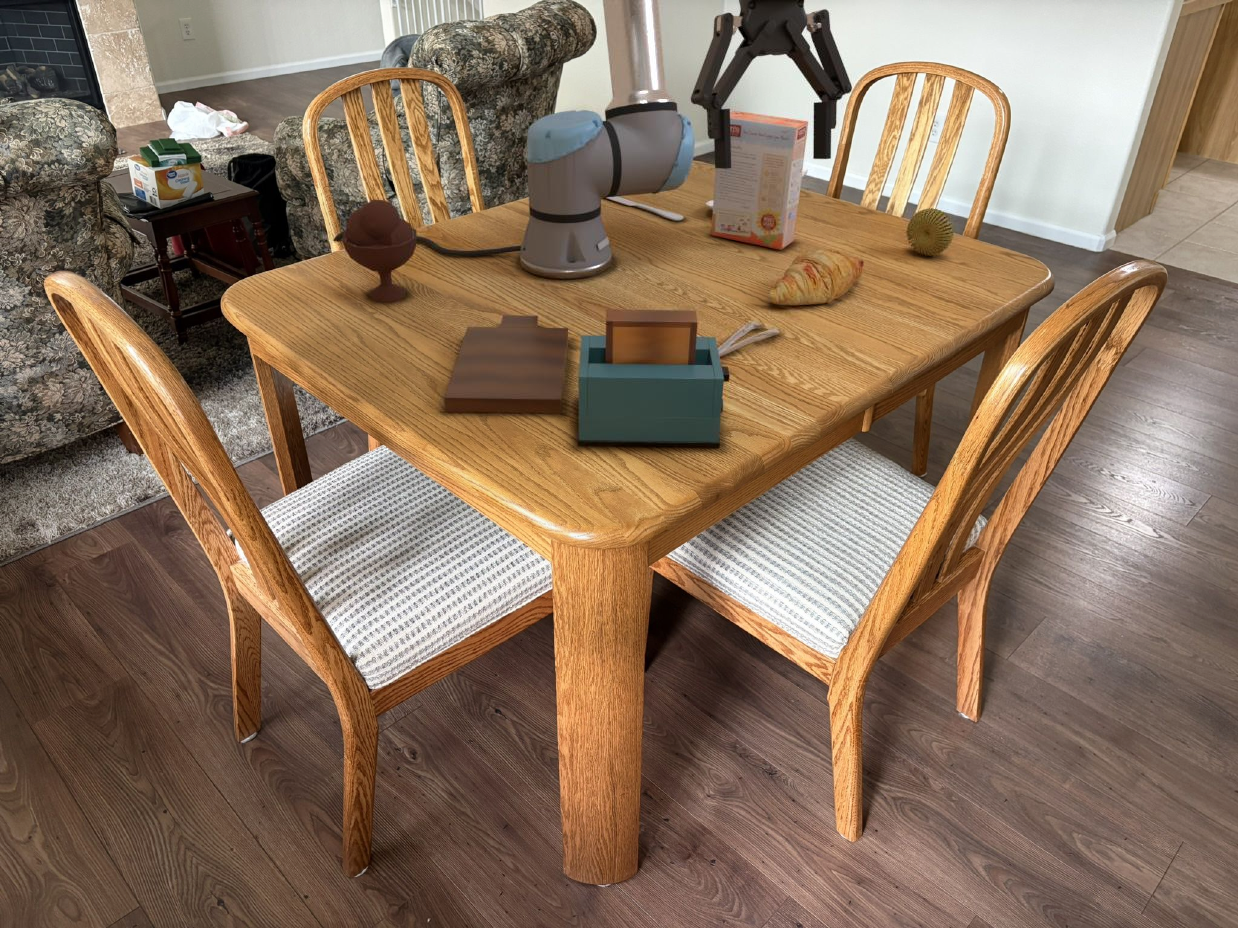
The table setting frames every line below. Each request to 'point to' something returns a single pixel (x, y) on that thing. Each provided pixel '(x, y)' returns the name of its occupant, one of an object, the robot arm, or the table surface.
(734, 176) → the cracker box
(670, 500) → the table surface
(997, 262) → the table surface
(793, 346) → the table surface
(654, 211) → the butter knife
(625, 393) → the toaster
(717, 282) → the table surface
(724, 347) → the tweezers
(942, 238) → the sea urchin shell
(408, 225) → the ice cream bowl
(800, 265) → the croissant
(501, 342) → the bread board
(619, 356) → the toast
